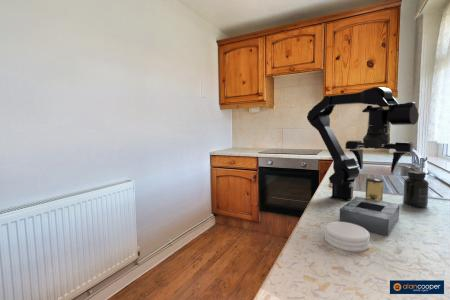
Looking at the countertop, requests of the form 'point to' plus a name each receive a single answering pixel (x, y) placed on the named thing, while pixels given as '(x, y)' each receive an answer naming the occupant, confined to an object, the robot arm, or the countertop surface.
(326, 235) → the white flat disc stack
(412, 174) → the supplement bottle
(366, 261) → the countertop surface
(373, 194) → the tan cylinder
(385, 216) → the housing
